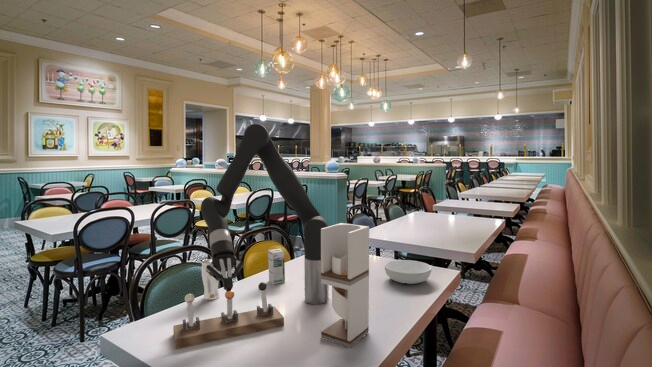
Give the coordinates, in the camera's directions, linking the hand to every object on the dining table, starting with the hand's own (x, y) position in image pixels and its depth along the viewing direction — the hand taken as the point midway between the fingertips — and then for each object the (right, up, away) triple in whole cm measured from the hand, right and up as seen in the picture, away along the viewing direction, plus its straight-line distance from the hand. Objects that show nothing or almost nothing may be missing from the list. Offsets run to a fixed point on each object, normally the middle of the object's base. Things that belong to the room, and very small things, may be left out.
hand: (229, 289), depth 124 cm
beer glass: (-15, -11, +29) cm, 35 cm away
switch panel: (0, -14, +1) cm, 14 cm away
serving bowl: (+69, -10, +48) cm, 85 cm away
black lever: (+11, -10, +6) cm, 16 cm away
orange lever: (0, -10, +1) cm, 10 cm away
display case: (+38, -14, -3) cm, 40 cm away
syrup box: (+9, -10, +48) cm, 49 cm away
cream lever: (-11, -11, -5) cm, 16 cm away
